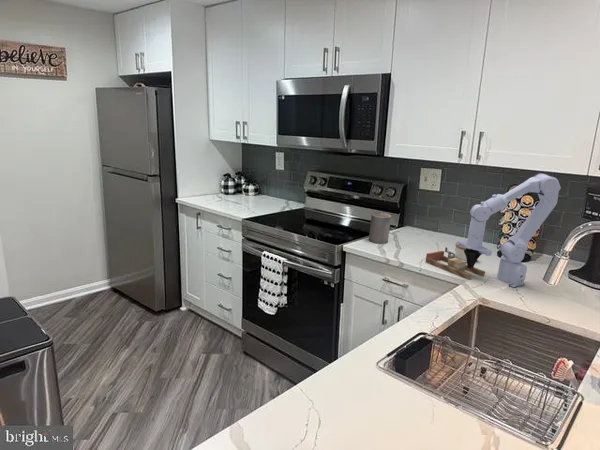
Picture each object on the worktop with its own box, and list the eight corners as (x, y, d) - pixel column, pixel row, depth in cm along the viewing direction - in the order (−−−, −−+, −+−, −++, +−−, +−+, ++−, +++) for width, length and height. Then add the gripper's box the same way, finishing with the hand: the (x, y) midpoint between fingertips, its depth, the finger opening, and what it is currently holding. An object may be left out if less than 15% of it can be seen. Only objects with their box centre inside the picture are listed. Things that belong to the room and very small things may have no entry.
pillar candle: (367, 237, 222) (370, 209, 218) (386, 238, 222) (389, 210, 218) (369, 243, 213) (372, 214, 209) (389, 244, 213) (392, 215, 209)
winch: (455, 263, 191) (457, 250, 189) (451, 264, 189) (453, 251, 187) (446, 259, 195) (447, 247, 193) (441, 260, 193) (443, 247, 192)
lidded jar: (451, 262, 191) (454, 242, 189) (455, 255, 201) (458, 236, 198) (477, 267, 187) (480, 246, 184) (479, 260, 196) (483, 240, 193)
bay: (484, 278, 174) (486, 266, 173) (468, 282, 169) (470, 270, 167) (440, 261, 192) (442, 250, 190) (425, 264, 186) (426, 253, 185)
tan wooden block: (465, 270, 178) (466, 261, 177) (457, 272, 176) (458, 263, 175) (454, 266, 183) (456, 257, 182) (446, 268, 180) (448, 259, 179)
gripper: (454, 231, 173) (449, 262, 177) (486, 241, 162) (479, 275, 165) (465, 229, 177) (460, 260, 181) (497, 239, 165) (491, 272, 169)
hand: (470, 267), depth 173 cm, fingers closed
